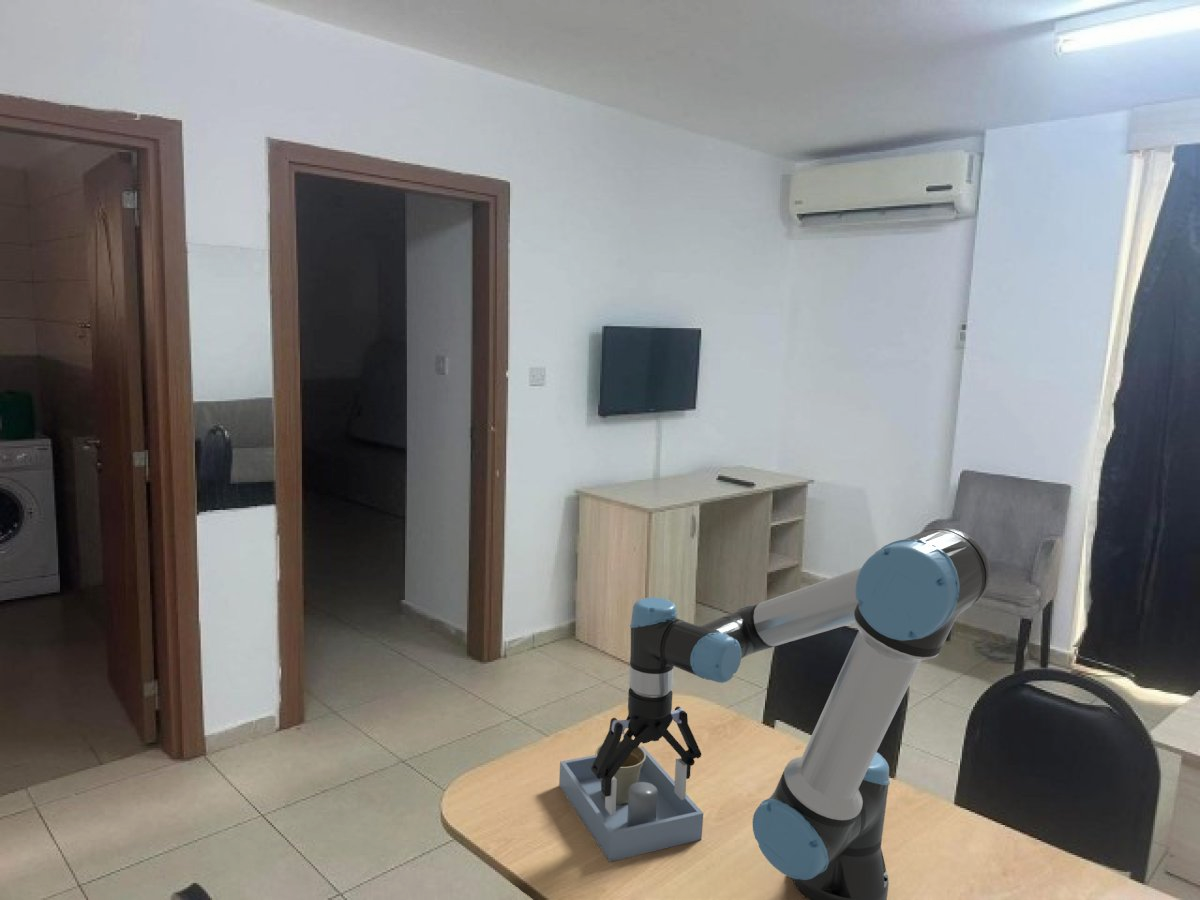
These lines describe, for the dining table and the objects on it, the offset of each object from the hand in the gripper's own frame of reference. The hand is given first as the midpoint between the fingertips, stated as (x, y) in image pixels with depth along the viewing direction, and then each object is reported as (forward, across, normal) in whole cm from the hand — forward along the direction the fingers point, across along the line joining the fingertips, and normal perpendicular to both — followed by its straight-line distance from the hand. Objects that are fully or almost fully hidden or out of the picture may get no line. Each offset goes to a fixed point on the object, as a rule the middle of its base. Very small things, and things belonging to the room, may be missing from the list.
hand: (645, 803), depth 144 cm
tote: (+5, 0, -7) cm, 8 cm away
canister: (+5, 0, -1) cm, 5 cm away
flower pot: (+5, 0, -11) cm, 12 cm away
